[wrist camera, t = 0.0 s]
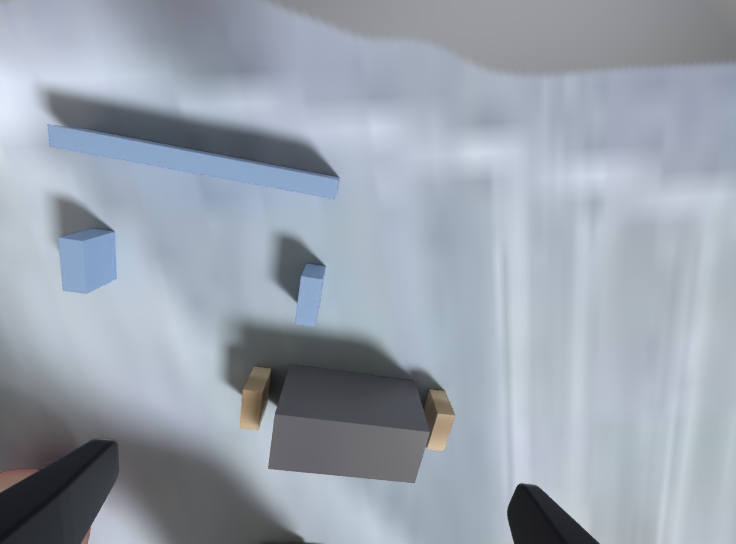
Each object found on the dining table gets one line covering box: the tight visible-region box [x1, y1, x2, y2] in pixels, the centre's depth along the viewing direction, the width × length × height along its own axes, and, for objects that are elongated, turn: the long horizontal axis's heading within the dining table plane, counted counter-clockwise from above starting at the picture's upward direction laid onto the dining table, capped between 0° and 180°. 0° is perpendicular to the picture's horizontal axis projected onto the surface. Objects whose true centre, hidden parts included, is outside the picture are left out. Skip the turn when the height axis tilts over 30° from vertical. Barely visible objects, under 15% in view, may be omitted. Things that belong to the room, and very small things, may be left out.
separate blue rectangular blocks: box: [48, 125, 340, 327], centre depth 19 cm, size 8×14×2 cm, turn 79°
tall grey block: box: [268, 365, 430, 483], centre depth 22 cm, size 4×9×5 cm, turn 79°
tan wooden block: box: [240, 366, 455, 451], centre depth 23 cm, size 3×14×2 cm, turn 79°
